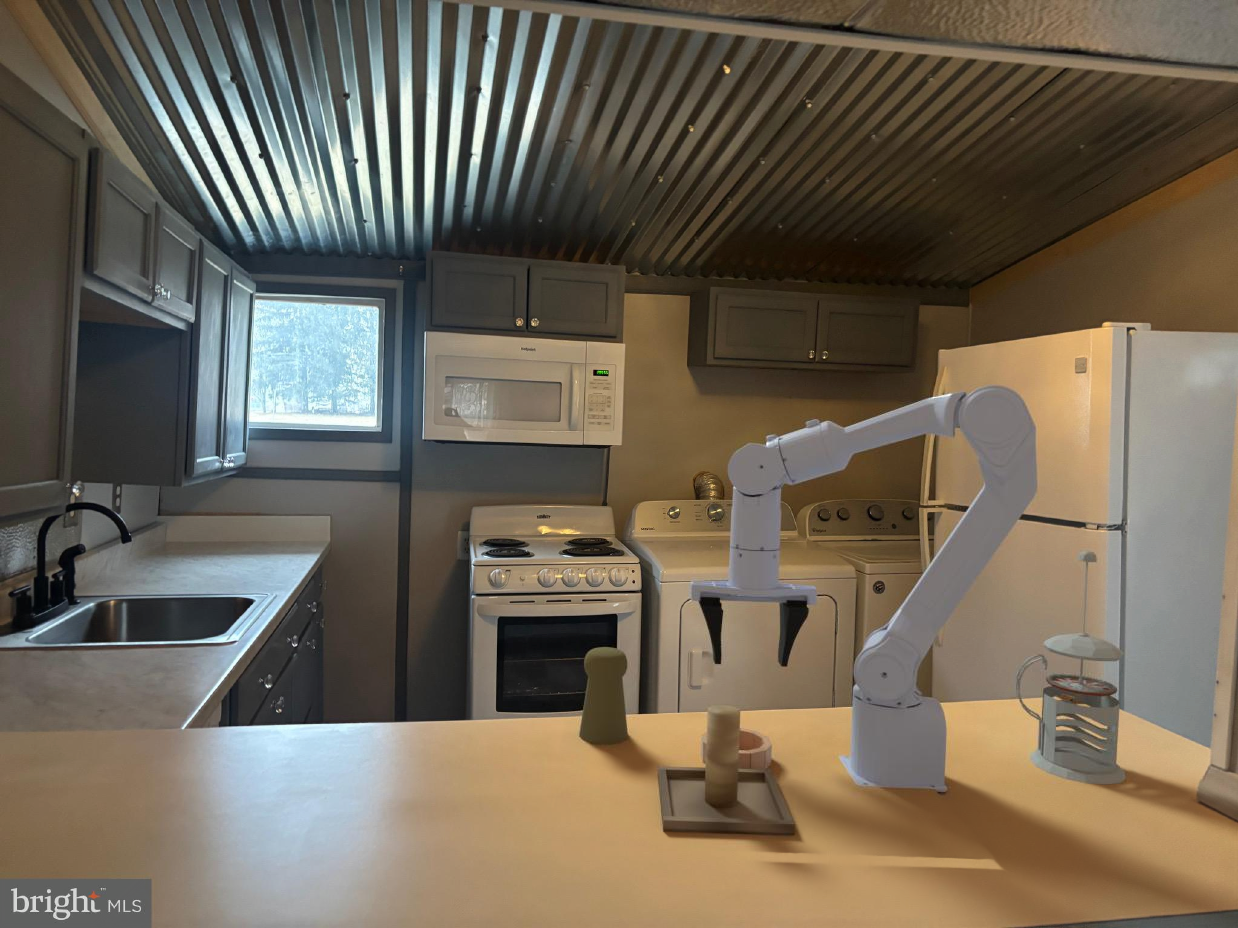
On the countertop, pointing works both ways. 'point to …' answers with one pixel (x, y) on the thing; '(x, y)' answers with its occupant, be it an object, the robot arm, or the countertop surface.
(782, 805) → the walnut tray
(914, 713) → the robot arm
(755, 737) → the pink round piece
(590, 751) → the countertop surface
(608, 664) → the olive green pawn
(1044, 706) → the french press
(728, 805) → the dowel pin
